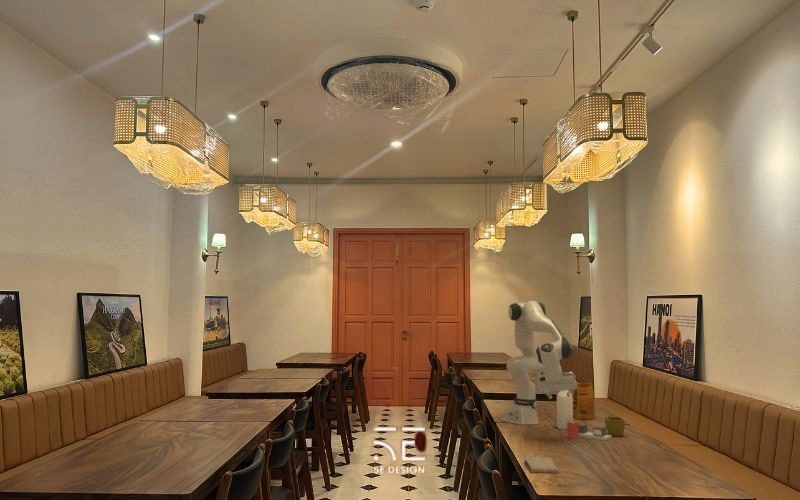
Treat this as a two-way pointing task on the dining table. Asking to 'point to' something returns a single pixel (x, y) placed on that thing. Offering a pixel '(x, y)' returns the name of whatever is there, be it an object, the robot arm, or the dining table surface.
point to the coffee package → (583, 402)
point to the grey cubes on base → (597, 432)
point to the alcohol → (564, 409)
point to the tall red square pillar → (572, 430)
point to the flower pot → (615, 425)
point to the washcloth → (541, 465)
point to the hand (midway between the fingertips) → (559, 397)
